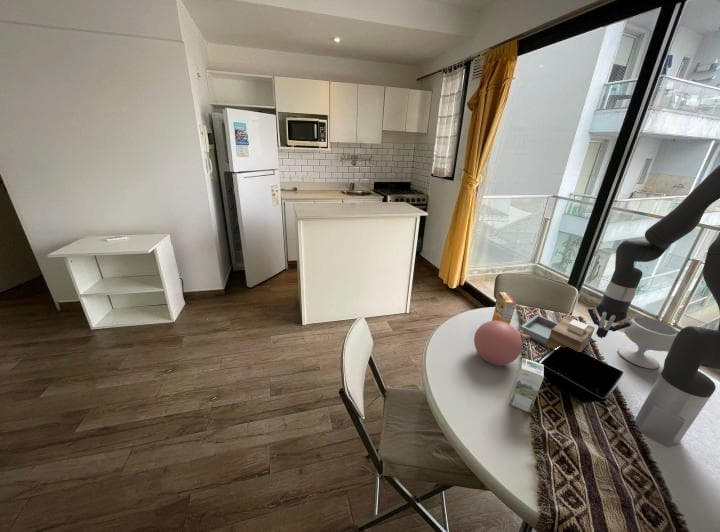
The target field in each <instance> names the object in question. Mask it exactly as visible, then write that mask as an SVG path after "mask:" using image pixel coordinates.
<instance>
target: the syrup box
mask: <svg viewBox="0 0 720 532" xmlns="http://www.w3.org/2000/svg"><path fill="white" fill-rule="evenodd" d="M544 365H545V364H542V363H539V362H537V361H533V360H530V359H527V358H524V357H522V359H521V361H520V364H519V367H518V369H517V373H516V376H515V379H514V382H513V385H512V387H511V391H510V395H509V396H510V397H509V398H510V399H509V405H510V406H511V407H514V408H517V409H519V410H521V411H523V412H526V413H528V414H529V413H530V414H531V411H532V409H533V407H534V403H535V400H536V398H537V396H538V393H539V391H540V389H541V386H542V383H543V380H544V378H545V375H544V373H545V372H544V371H545V370H544V367H545V366H544Z"/></svg>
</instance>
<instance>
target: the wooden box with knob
mask: <svg viewBox="0 0 720 532" xmlns="http://www.w3.org/2000/svg"><path fill="white" fill-rule="evenodd" d="M573 319H574V318H572V317H569V316H565V317H564V318H563V319H561V321H559V322H557V323H558V324H557V325H556V326H555V327H554V328H553V329H552V330H551V333H550V336H549V339H548V341H547V344H546V346H545V347H547V348H549V349H551V350H554V349H555V348H557V347H559V346H562V347H563V348H564V347H569V348H571V349H573V350H575V351H577V352H581V353H582V352H584V350H585V349H586V348H587V346H588V345H589V342H590V341H591V338H592V336H593V333H594V331H595V329H596V327H594V326H593V325H590V324H587V325H588V328H587V330H586V331H585V332H584V334H583V335H581V334H578V333H576V332H574V331H571V330H569V329H567V328H568V325H569V323H570V322H571V321H572V320H573ZM574 320H576V319H574ZM578 321H579V320H578ZM579 322H581V321H579ZM583 323H584V322H583ZM584 324H586V323H584ZM554 351H555V350H554Z"/></svg>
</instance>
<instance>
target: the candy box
mask: <svg viewBox="0 0 720 532" xmlns="http://www.w3.org/2000/svg"><path fill="white" fill-rule="evenodd" d="M495 303H496V304H495V308H494V311H493V315H492V317H491V321H502V322H505V323H507V324H509V325H511V322H512V318H513V316H514V312H515V309H516V305H517V302H516V301H515V300H514V298H513V297H512V295H510V293H509V292H501V291H499V292H498V296H497V299H496V302H495Z"/></svg>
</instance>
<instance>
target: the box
mask: <svg viewBox="0 0 720 532" xmlns="http://www.w3.org/2000/svg"><path fill="white" fill-rule="evenodd" d="M558 323H559V322H557V321H554V320H552V319H549V318H547V317H545V316H542V315H540V314H535V316H533V317H531V318H530V319H529V320H528V321H526V322H525V323H524V324H522V325H521V326H520V329H519V330H522V331H523V333H524V334H525V335H529V336H530V338H529V339H530V340H533V341H534V342H537V343H539V344H541V345H543V346H545V347H547V346H546V344H547V341H548V339H549V336H550V333H551V330H552V329H553V328H554V327H555V326H556V325H557V324H558Z"/></svg>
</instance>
